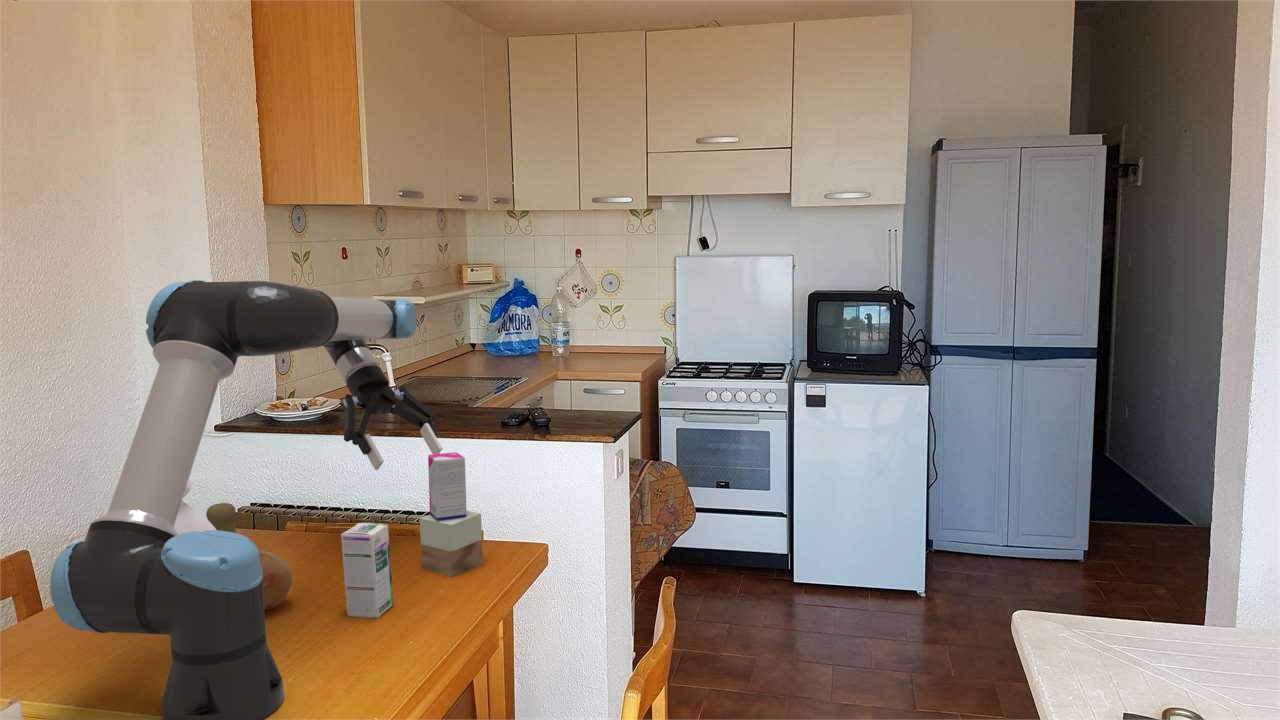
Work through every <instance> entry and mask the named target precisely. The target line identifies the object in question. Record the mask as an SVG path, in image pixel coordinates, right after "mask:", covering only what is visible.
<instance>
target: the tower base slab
mask: <svg viewBox="0 0 1280 720" xmlns="http://www.w3.org/2000/svg"><path fill="white" fill-rule="evenodd" d="M420 548H421V549H420V550H421V551H420V552H421V553H420V554H421V568H422V569H424V570H426V571H430V572H433V573H437V574H439V575H442V576H445V577H448V578H452V577H454V576H457V575H460V574H462V573H465V572H467V571H470V570H473V569H476V568H478V567H481V566H483V565H484V560H483V558H484V557H483V540H482V539H481V540H478V541H476V542H474V543H471V544H469V545H467V546H464V547H462V548H460V549H457V550H455V551H449V550H444V549H440V548H435V547H431V546H427V545H422V544H421V543H420Z"/></svg>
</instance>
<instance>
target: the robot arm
mask: <svg viewBox="0 0 1280 720" xmlns="http://www.w3.org/2000/svg"><path fill="white" fill-rule="evenodd" d="M417 315H418V314H417V311H416V306H415V305H414V303H413V302H412V301H410V300H406V299H405V300H403V299H375V298H357V297H344V296H343V297H341V296H330V295H328V294H327V293H325V292H323V291H322V290H320V289H315V288H306V287H301V286H296V285H289V284H285V283H279V282H274V281H273V282H272V281H265V280H251V281H249V280H247V281H246V280H244V281H243V280H242V281H239V280H237V281H205V280H201V279H199V280H196V279H193V280H188V281H180V282H174V283H172V284H171V283H170V284H168V285H166V286H164V287H163V288H161V289H160V290H159V291H158V292H157V293H156V294H155V296H154V297H153V298H152V300H151V302H150V304H149V306H148V310H147V313H146V318H145V324H146V325H147V326H148V327H147V329H146V330H145V332H146V333H145V334H146V337H147V341H148V343H149V344H150V347H152V356H153V357H154V359H155V360H156V361H157V363H158V364H159V365H158V367H157V371H156V374H155V377H154V380H153V382H152V385H151V388H150V391H149V393H148V397H147V400H146V402H145V404H144V408H143V410H142V414H141V417H140V420H139V422H138V425H137V427H136V430H135V434H134V437H133V439H132V442H131V444H130V448H129V451H128V453H127V456H126V459H125V463H124V465H123V466H122V467H123V468H122V471H121V474H120V477H119V479H118V483H117V485H116V488H115V491H114V493H113V495H112V499H111V502H110V505H109V507H108V511H107V512H106V513H105V514H104V515H102V516H100V517H99V518H95V519H94V520H93V521H91V523H90V525H89V528H88V530H87V532H86V535H85V538H84V540H78V541H76V542H73V543H70V544H68V545H67V546H66V548H65V549H62V550H61V551H60V552H59V555H57V557H56V558H55V561H54V563H53V567H52V570H51V574H50V579H49V581H50V584H49V590H50V591H49V592H50V599H51V602H52V603H53V608H54V611H55V613H56V615H57V616H58V618H59V619H60V620H61V621H62V623H64V624H65V625H66V626H68V627H69V628H71V629H74V630H77V631H78V630H79V631H86V632H94V633H96V634H109V633H119V634H120V633H124V634H125V633H126V634H129V633H130V634H144V635H145V634H147V635H167V636H169V640H170V641H169V642H170V650H171V651H170V652H171V664H170V668H169V671H168V675H167V679H166V682H165V687H164V691H163V693H162V697H161V698H162V699H161V702H160V703H161V704H160V707H161V708H160V710H161V719H162V720H263V719H265V718H266V717H268V716H269V715H271V714H272V713H274V712H275V711H276V710H277V709H278V708H279V707H280V706H281V704H282V703H283V701H284V699H285V690H284V680H283V676H282V674H281V672H280V670H279V667H278V666H277V663H276V661H275V659H274V656H273V655H272V652H271V650H270V648H269V646H268V642H267V634H266V616H265V610H264V599H263V583H262V579H263V570H262V567H261V562H260V557H259V551H260V550H259V548H258V546H257V545H256V544H255V543H254V542H253V540H251V539H250V538H249V537H247V536H244V535H242V534H241V533H237V532H236V533H233V532H227V531H219V530H205V531H204V532H197V531H194V532H188V533H183V534H180V535H178V534H177V532H176V531H175V529H174V524H175V521H176V518H177V515H178V511H179V508H180V505H181V502H182V501H183V499H184V498H183V495H184V492H185V489H186V486H187V483H188V479H189V480H190V476H191V473H192V470H193V467H194V463H195V461H196V457H197V454H198V450H199V447H200V444H201V441H202V437H203V434H204V432H205V428H206V425H207V422H208V419H209V416H210V415H209V414H210V411H211V409H212V406H213V402H214V399H215V396H216V393H217V390H218V386H219V383H220V382H221V381H222V380H224V379H226V378H228V377H230V376H232V375H233V373H234V372H235V367H236V364H237V362H238V359H239V357H262V356H263V357H265V356H272V355H278V354H279V355H280V354H284V353H290V352H294V351H301V350H302V351H303V350H307V349H315V348H317V349H318V348H319V347H323V348H324V349H325V350H326V351H327V353H328V355H329V356H330V358H331V359H332V362H333V363H334V365H335V367H336V369H337V371H338V373H339V374H340V376H341V378H342V379H343V382H344V383H345V385H346V388H347V389H348V391H349V393H350V394H349V393H348V394H345V396H344V398H343V400H342V402H341V405H342V408H343V411H344V412H343V413H344V415H343V416H344V419H343V422H344V423H343V440H344V441H345V442H347V443H348V442H350V441H351V443H352V445H354V446H358V448H359V450H360V451H361V454H363V456H365V455H366V456H367V458H368V460H369V462H370V464H371V465H372V467H373V469H374V471H377V470H380V468H381V466H382V464H383V463H384V462H385V461H384V459H383V457H382V455H381V453H380V452H379V450H378V448H377V446H376V445H375V442H374V440H373V439H372V437H371V435H370V433H367V434H366V433H365V432H366V430H367V427H368V425H369V424H368V423H369V421H370V419H371V418H370V417H371V415H374V416H378V415H381V414H384V415H385V414H388V413H389V414H391V415H397V416H399V417H400V418H402V419H404V420H406V421H407V422H409V423H411V424H413V426H414V425H415V426H416V427H418V428H420V431H419V433H420V434H421V437H422V438H423V440H424V442H425V443H426V445H427V448H428V449H429V451H430V452H431V455H432V454H441V452H442V450H443V449H444V448H443V446H442V444H441V443H440V441H439V439H438V436H439V435H438V433H437V431H436V430H435V427H434V426H433V424H434V423H435V421H436V420H437V418H438V416H437V415H436V414H435V413H434V412H433V411H432V410H430V409H429V408H428V407H426V405H424V404H423V403H422V402H420V401H419V400H418V399H417V398H416V397H414V396H413V395H412V394H411V393H410V392H409V391H408V389H407V388H406V387H405V386H404V385H401V386H400V387H399V388H398V389H396V390H393V389H392V388H391V387H390V386H389V381H388V378H387V376H386V375H385V373H384V372H383V369H382V368H381V367H380V364H379V362H378V361H377V358H376V357H375V356H374V354H373V352H372V351H371V349H370V347H369V346H368V345H367V343H366V340H383V339H385V340H390V339H391V340H392V339H393V340H399V339H400V340H401V339H410V338H412V337H413V336H414V334H415V332H416V329H417V325H418V316H417ZM356 405H357V406H358V407H360V408H361V409H363V410H362V413H361V415H360V419H359V422H358V426H357V428H356V431H355V420H356V418H355V417H356V414H355V412H356ZM394 405H395V407H394Z"/></svg>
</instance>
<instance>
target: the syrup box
mask: <svg viewBox="0 0 1280 720" xmlns="http://www.w3.org/2000/svg"><path fill="white" fill-rule="evenodd" d="M389 535H390V534H389V525H388V524H385V523H379V522H358V523H356V525H354V526H353V527H351V528H349V529H347V530H345V531H344V532H342V533H341V534H340V538H341V551H342V554H341V555H342V565H343V567H342V568H343V576H344V577H343V580H344V590H345V591H344V592H345V602H346V604H345V605H346V615H347V616H348V617H356V618H367V619H379V618H380V616H382V615H383V614H384V613H385V612H386V611H388V610H389V609H390V608H391V607H392V606H393V605H394V595H393V593H394V591H393V581H392V580H393V579H392V578H393V577H392V565H391V562H392V561H391V552H390V551H391V550H390V548H391V547H390V538H389V537H390V536H389Z"/></svg>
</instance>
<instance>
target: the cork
mask: <svg viewBox="0 0 1280 720" xmlns="http://www.w3.org/2000/svg"><path fill="white" fill-rule="evenodd" d="M235 507H236V506H234V505H233V504H232V503H229V502H219V503H215V504H212V505H210V506H208V508H207V510H206V513H205V514H206V519H207V520H208V521H209V522H210V523H211V524H212V525H213V526H214V527H215V529H216V530H219V531H227V532H233V533H237V532H236V525H235V521H234V519H235V517H236V515H237V514H236V513H237V510H236V508H235Z"/></svg>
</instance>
